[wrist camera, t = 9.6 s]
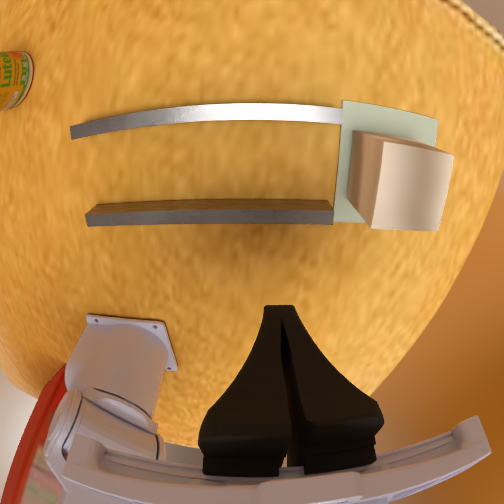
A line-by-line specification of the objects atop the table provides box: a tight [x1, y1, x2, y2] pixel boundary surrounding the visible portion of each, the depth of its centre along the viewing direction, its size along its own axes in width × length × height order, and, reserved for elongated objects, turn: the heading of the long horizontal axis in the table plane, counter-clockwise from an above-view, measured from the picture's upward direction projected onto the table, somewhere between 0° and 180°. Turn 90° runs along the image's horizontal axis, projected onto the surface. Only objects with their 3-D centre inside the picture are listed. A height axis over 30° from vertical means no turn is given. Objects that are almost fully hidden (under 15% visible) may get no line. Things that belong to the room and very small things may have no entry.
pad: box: [333, 100, 438, 223], centre depth 18 cm, size 8×9×1 cm
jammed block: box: [347, 130, 454, 232], centre depth 16 cm, size 5×5×5 cm
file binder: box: [0, 365, 68, 504], centre depth 23 cm, size 8×17×32 cm, turn 131°
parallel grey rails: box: [70, 103, 343, 227], centre depth 18 cm, size 18×8×2 cm, turn 90°
